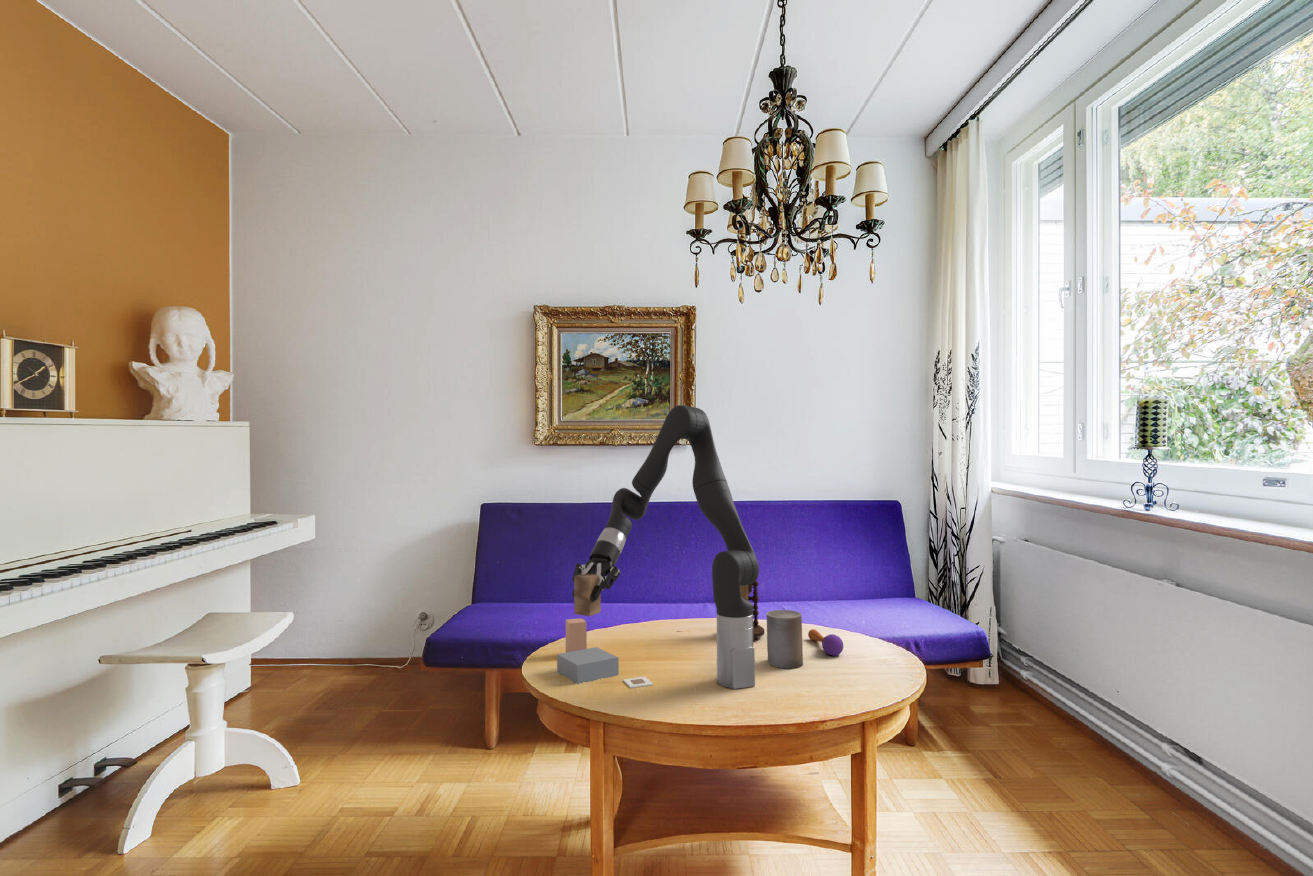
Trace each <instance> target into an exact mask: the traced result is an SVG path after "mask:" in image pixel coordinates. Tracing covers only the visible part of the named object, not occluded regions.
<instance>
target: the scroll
mask: <svg viewBox="0 0 1313 876" xmlns="http://www.w3.org/2000/svg"><path fill="white" fill-rule="evenodd" d="M758 589H759V582H758V580H756V581H755V582H754V583H752V584H749V585H744V586H740V592H741V597H742V598H743V599H745V600H748V601H750V602H752V605H753V641H754V642H755V641H756V638H760V637H762V636H764V635H765V628H764V627H763V626H761V625H760V624H759V615H760V613H759V606H758V602H759V600H760V599H759V598H760V597H759V595H758V594H759V593H758ZM752 591H753V592H752ZM751 593H752V594H753V595H752V596H750V595H751Z"/></svg>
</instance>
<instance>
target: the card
mask: <svg viewBox="0 0 1313 876" xmlns="http://www.w3.org/2000/svg"><path fill="white" fill-rule="evenodd" d="M622 682H624V684H626V686H627V687H629V688H630V689H633V688H635V689H636V688H642V687H648V686H653V685H654V683H653V682H652V681H651V680H650V679H649V678H647V677H646V676H640V677H632V678H625V679H624V678H623V679H622Z"/></svg>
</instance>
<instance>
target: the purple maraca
mask: <svg viewBox="0 0 1313 876" xmlns="http://www.w3.org/2000/svg"><path fill="white" fill-rule="evenodd" d="M807 636H808V639H810V640H811V639H812V641H816V642H819V643H821V648H822V650H823V652H825V654H827V655H828V656H830V655H832V656H831V657H837V656H839V655H840V654H842V652H843V650H844V642H843V639H842V638H841V637H840V636H839V635H835V634H832V633H831V634H828V635H825V636H823V635H822V634H821V633H820V632H819V631H818V630H817V629H814V628H812V629H810V630H809V631H808V632H807Z"/></svg>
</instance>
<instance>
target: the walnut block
mask: <svg viewBox="0 0 1313 876" xmlns="http://www.w3.org/2000/svg"><path fill="white" fill-rule="evenodd" d="M597 580H598V575H597V574H581V575H577V576H574V582H573V585H574V587H573V590H574V597H573V599H574V602H573V603H574V604H573V606H574V608H573V609H574V612H573V613H574V615H577V616H578V615H579V616H586V617H591V616H594V615H597V614H600V613H601V612H602V611H601V610H602V608H601V606H602V605H601V601H602V599H601V597H602V595H601V593H602V592H601V593H600V595H599V597H598V599H597V600H596V601H595V602H592V600H591V599H590V595H591V593H592V591H593V589H594V587H595V586H597V585H596V583H597Z"/></svg>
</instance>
